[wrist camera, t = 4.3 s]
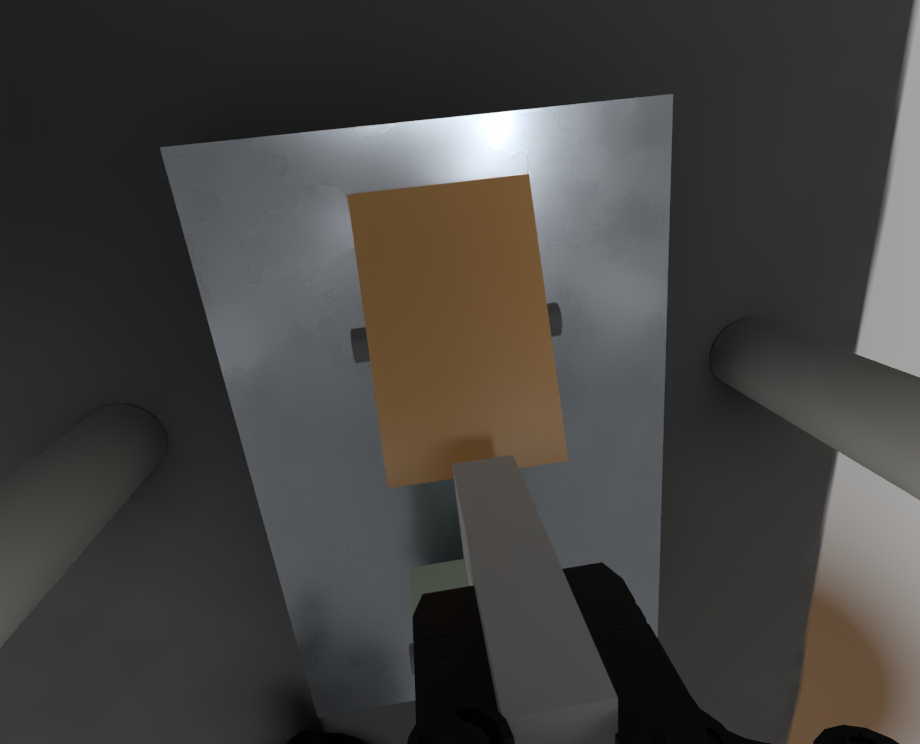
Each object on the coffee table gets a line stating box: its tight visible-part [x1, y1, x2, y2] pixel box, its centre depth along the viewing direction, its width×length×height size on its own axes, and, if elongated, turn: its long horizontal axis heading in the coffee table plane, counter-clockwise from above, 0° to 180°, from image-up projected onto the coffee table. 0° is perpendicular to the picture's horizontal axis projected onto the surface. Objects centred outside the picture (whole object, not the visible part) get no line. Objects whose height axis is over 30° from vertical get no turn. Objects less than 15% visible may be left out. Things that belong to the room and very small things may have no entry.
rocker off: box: [347, 174, 569, 488], centre depth 15 cm, size 8×6×2 cm
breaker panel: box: [160, 94, 673, 718], centre depth 21 cm, size 24×16×4 cm, turn 6°
